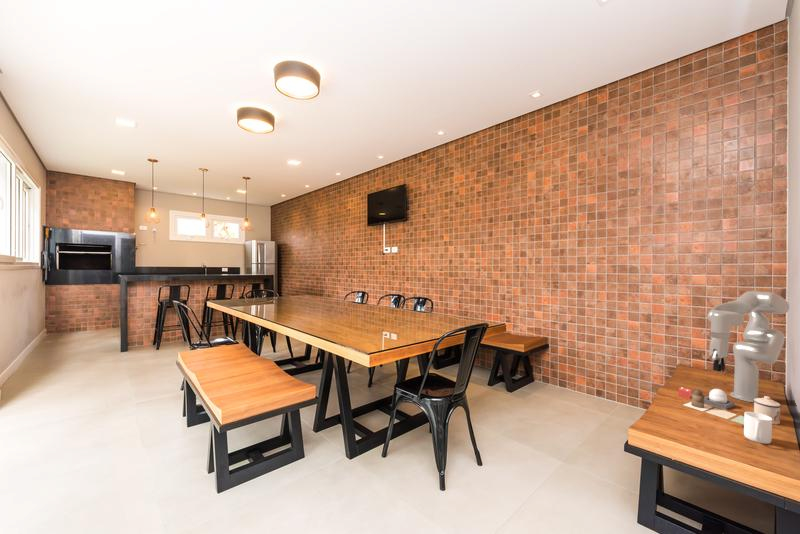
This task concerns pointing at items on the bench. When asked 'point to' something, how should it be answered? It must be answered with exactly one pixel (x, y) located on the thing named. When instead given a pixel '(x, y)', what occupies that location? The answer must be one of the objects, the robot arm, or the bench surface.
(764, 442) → the cup
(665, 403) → the bench surface
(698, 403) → the pawn
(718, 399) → the dome
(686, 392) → the red die
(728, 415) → the game board
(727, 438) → the bench surface
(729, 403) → the dome housing
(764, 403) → the teacup with lid
